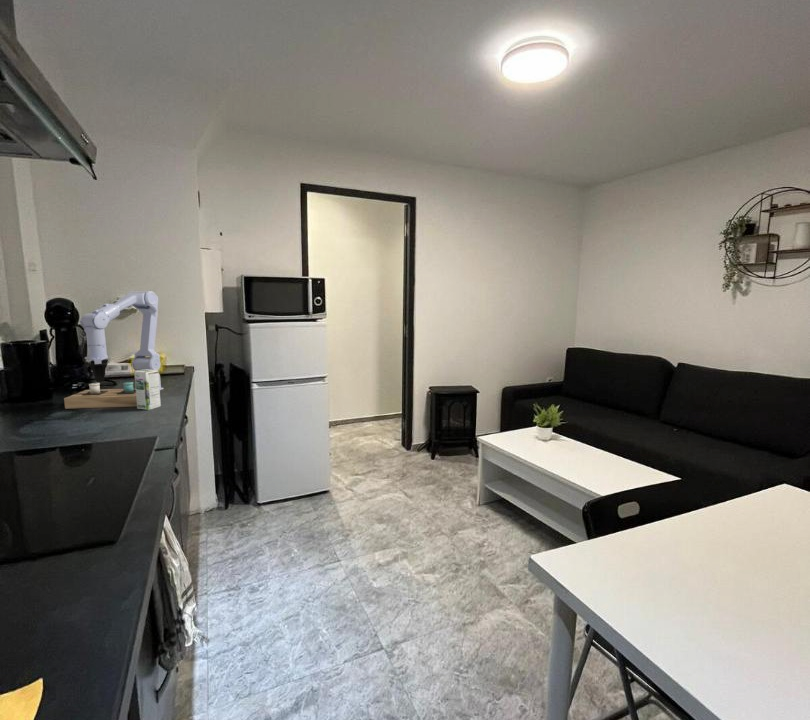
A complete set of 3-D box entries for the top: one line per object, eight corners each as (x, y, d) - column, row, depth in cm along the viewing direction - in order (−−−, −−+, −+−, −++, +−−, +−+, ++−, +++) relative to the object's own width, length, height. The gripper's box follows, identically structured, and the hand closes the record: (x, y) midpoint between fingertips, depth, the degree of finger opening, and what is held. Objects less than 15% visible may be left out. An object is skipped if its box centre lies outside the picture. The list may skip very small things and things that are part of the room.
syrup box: (136, 409, 154) (132, 371, 152) (150, 405, 160) (147, 368, 158) (148, 410, 153) (144, 372, 151) (161, 406, 158) (158, 369, 156)
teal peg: (126, 392, 165) (125, 382, 164) (135, 392, 166) (134, 381, 165) (122, 394, 162) (121, 383, 161) (131, 393, 162) (130, 383, 162)
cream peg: (92, 393, 163) (91, 382, 162) (102, 393, 163) (101, 382, 163) (88, 395, 159) (86, 384, 159) (97, 395, 160) (96, 384, 159)
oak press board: (86, 399, 168) (85, 389, 167) (156, 397, 172) (155, 387, 172) (65, 408, 154) (63, 397, 153) (141, 406, 159) (140, 394, 158)
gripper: (84, 343, 160) (88, 378, 162) (82, 347, 148) (86, 384, 150) (106, 342, 164) (110, 376, 166) (106, 346, 152) (110, 382, 154)
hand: (100, 380), depth 158 cm, fingers open, 7 cm apart
